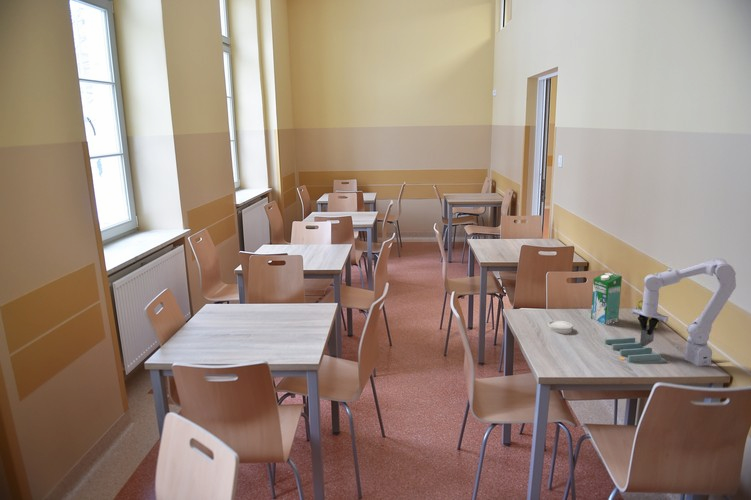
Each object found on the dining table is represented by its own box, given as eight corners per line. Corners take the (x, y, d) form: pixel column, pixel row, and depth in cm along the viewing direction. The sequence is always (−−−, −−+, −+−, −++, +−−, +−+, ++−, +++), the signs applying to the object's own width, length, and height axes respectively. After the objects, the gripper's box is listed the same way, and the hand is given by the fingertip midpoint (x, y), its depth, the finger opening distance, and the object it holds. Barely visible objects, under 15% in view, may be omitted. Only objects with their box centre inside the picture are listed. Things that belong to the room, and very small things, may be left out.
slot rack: (666, 362, 218) (667, 354, 217) (625, 365, 216) (626, 357, 215) (636, 343, 238) (636, 336, 237) (598, 345, 236) (599, 338, 235)
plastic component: (657, 329, 253) (659, 310, 251) (640, 329, 255) (642, 309, 253) (645, 316, 272) (646, 297, 270) (629, 315, 274) (631, 297, 272)
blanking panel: (653, 340, 227) (654, 325, 225) (644, 346, 222) (646, 330, 220) (648, 339, 228) (649, 324, 227) (639, 344, 223) (641, 329, 222)
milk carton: (590, 321, 266) (593, 274, 261) (603, 318, 270) (607, 271, 264) (604, 327, 258) (608, 278, 253) (618, 324, 262) (622, 275, 256)
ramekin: (552, 328, 258) (553, 318, 256) (575, 333, 251) (576, 323, 249) (543, 335, 249) (544, 325, 248) (567, 340, 242) (567, 330, 241)
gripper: (672, 305, 218) (669, 335, 221) (637, 297, 229) (634, 326, 232) (665, 308, 214) (661, 340, 216) (629, 300, 225) (626, 330, 227)
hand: (647, 333), depth 224 cm, fingers closed on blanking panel, 2 cm apart
